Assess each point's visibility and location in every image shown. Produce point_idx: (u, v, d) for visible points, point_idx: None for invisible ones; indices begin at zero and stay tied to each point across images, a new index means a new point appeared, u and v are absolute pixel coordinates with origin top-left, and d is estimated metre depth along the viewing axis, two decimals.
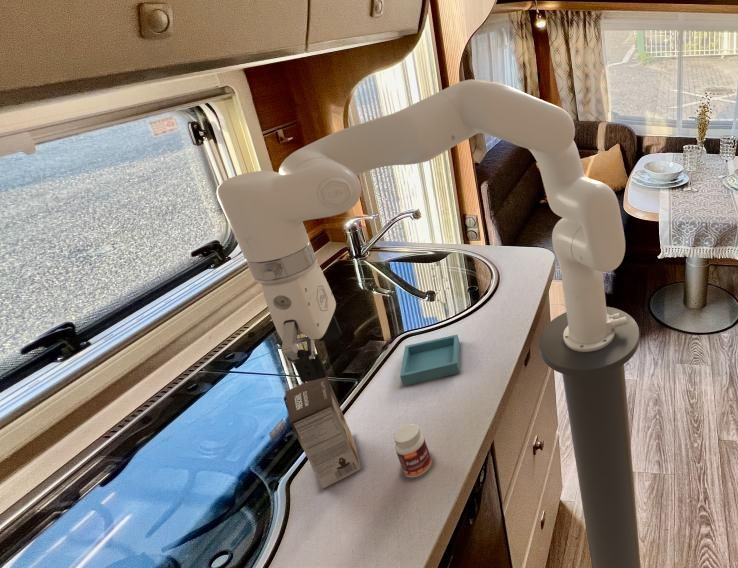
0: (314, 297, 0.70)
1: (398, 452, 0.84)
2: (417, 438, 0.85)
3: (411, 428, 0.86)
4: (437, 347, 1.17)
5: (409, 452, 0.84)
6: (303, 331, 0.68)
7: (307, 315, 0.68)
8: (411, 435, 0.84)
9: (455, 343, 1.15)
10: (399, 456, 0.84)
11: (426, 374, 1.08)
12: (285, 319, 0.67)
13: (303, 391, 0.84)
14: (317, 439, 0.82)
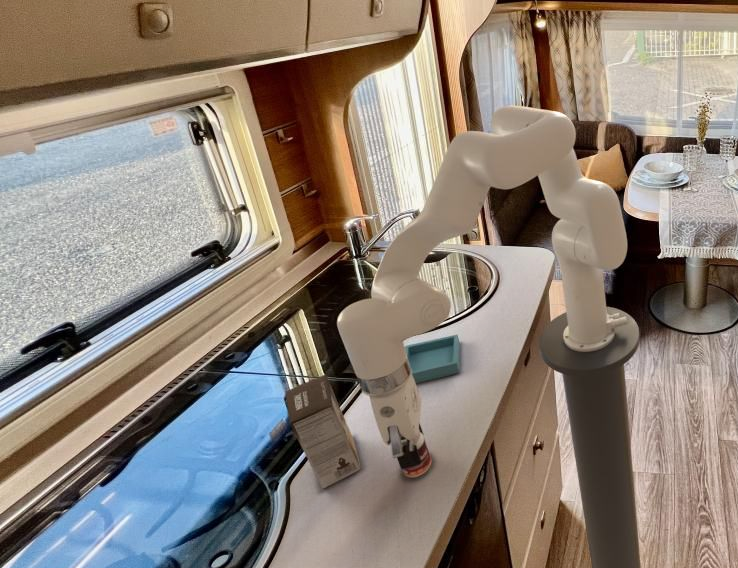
0: (410, 402, 0.80)
1: None
2: (417, 438, 0.85)
3: None
4: (437, 347, 1.17)
5: None
6: (402, 434, 0.79)
7: (406, 420, 0.78)
8: None
9: (455, 343, 1.15)
10: None
11: (426, 374, 1.08)
12: (388, 425, 0.78)
13: (303, 391, 0.84)
14: (317, 439, 0.82)
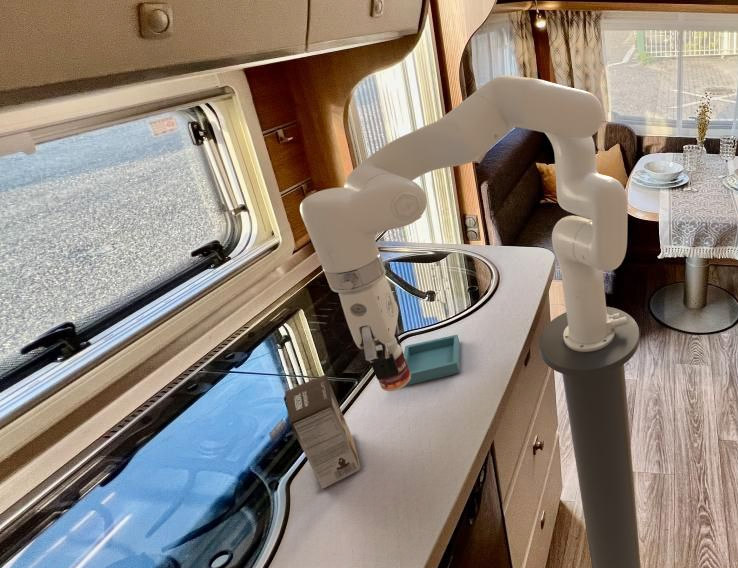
0: (384, 304, 0.75)
1: None
2: (394, 348, 0.79)
3: None
4: (437, 347, 1.17)
5: None
6: (376, 336, 0.73)
7: (380, 321, 0.73)
8: (387, 344, 0.79)
9: (455, 343, 1.15)
10: None
11: (426, 374, 1.08)
12: (360, 325, 0.72)
13: (303, 391, 0.84)
14: (317, 439, 0.82)
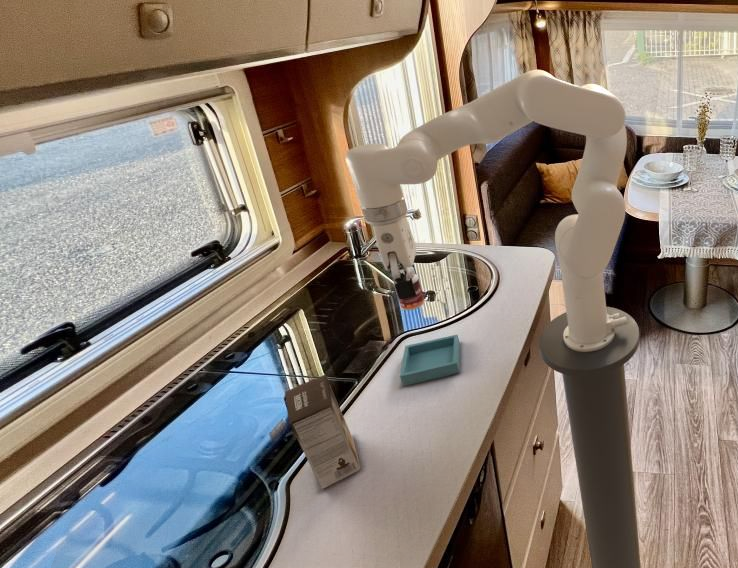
0: (406, 237, 0.96)
1: None
2: (412, 274, 1.00)
3: (407, 267, 1.01)
4: (437, 347, 1.17)
5: None
6: (400, 260, 0.94)
7: (403, 248, 0.94)
8: None
9: (455, 343, 1.15)
10: None
11: (426, 374, 1.08)
12: (388, 251, 0.93)
13: (303, 391, 0.84)
14: (316, 439, 0.82)
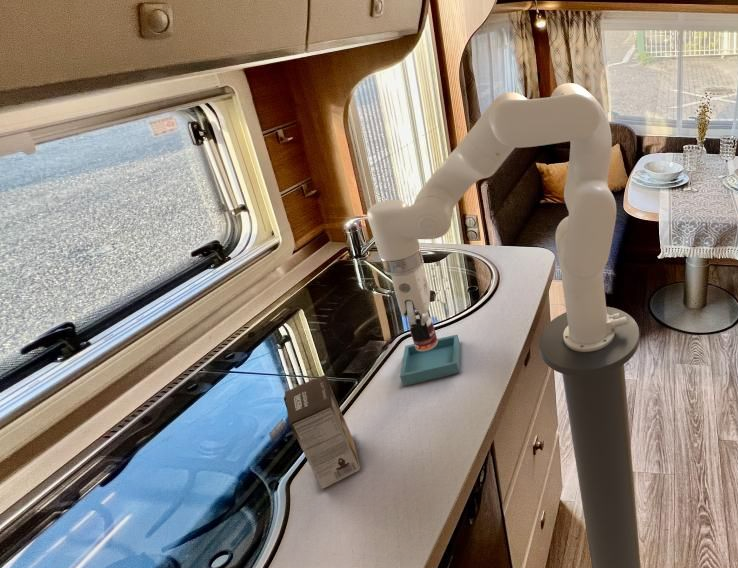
0: (422, 285, 1.02)
1: None
2: (426, 318, 1.07)
3: None
4: (437, 347, 1.17)
5: None
6: (416, 308, 1.01)
7: (419, 297, 1.00)
8: None
9: (455, 343, 1.15)
10: None
11: (426, 374, 1.08)
12: (405, 299, 1.00)
13: (303, 391, 0.84)
14: (316, 439, 0.82)
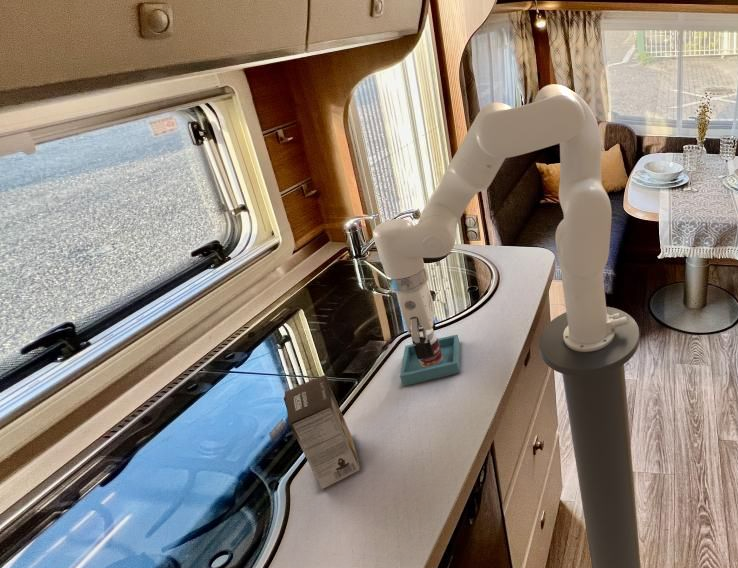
0: (427, 301, 1.04)
1: None
2: (432, 335, 1.09)
3: None
4: None
5: None
6: (421, 324, 1.03)
7: (424, 313, 1.02)
8: (427, 333, 1.09)
9: (455, 343, 1.15)
10: None
11: (426, 374, 1.08)
12: (411, 316, 1.01)
13: (302, 391, 0.84)
14: (316, 439, 0.82)
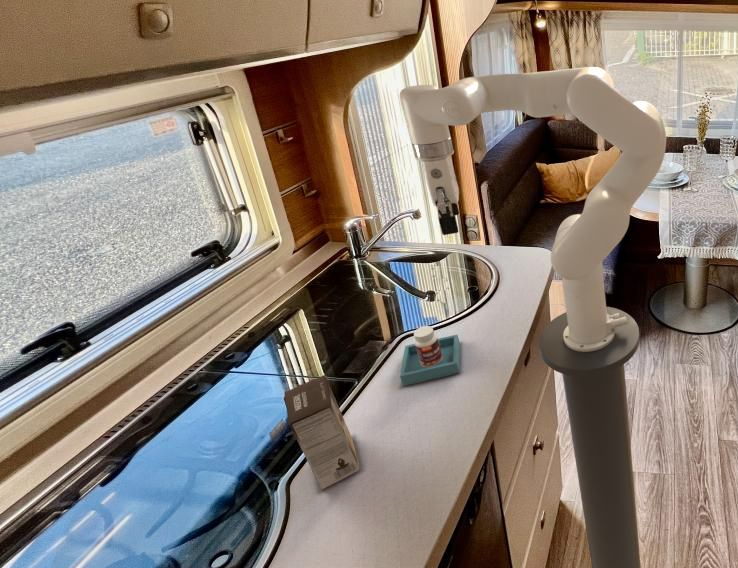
0: (452, 174, 1.02)
1: (417, 345, 1.08)
2: (432, 335, 1.09)
3: (427, 328, 1.10)
4: None
5: (426, 345, 1.08)
6: (447, 196, 1.01)
7: (450, 184, 1.00)
8: (427, 333, 1.09)
9: (455, 343, 1.15)
10: (418, 349, 1.09)
11: (426, 374, 1.08)
12: (437, 186, 0.99)
13: (302, 392, 0.84)
14: (316, 439, 0.82)
